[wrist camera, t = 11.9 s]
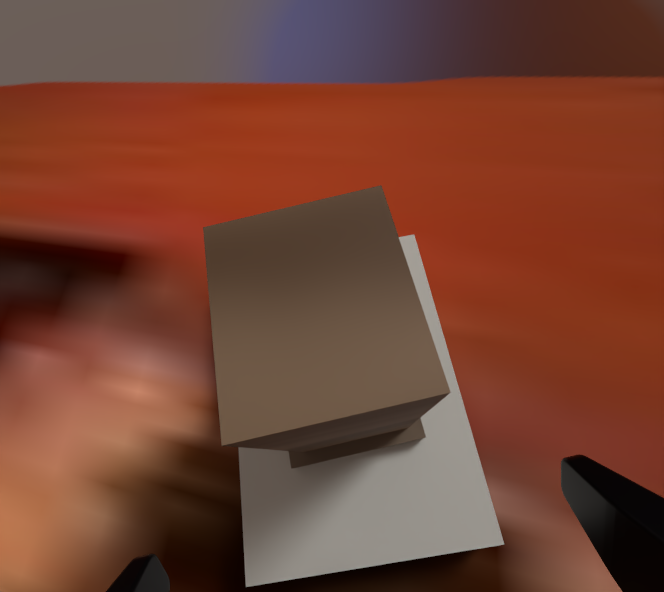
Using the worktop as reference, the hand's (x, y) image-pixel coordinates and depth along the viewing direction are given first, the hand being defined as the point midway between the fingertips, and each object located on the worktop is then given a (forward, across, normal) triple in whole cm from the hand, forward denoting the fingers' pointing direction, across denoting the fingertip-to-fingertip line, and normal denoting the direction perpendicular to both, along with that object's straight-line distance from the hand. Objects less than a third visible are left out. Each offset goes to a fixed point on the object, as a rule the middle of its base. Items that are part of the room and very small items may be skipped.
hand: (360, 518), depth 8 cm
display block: (+10, 0, +4) cm, 11 cm away
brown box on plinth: (+9, 0, +2) cm, 9 cm away
